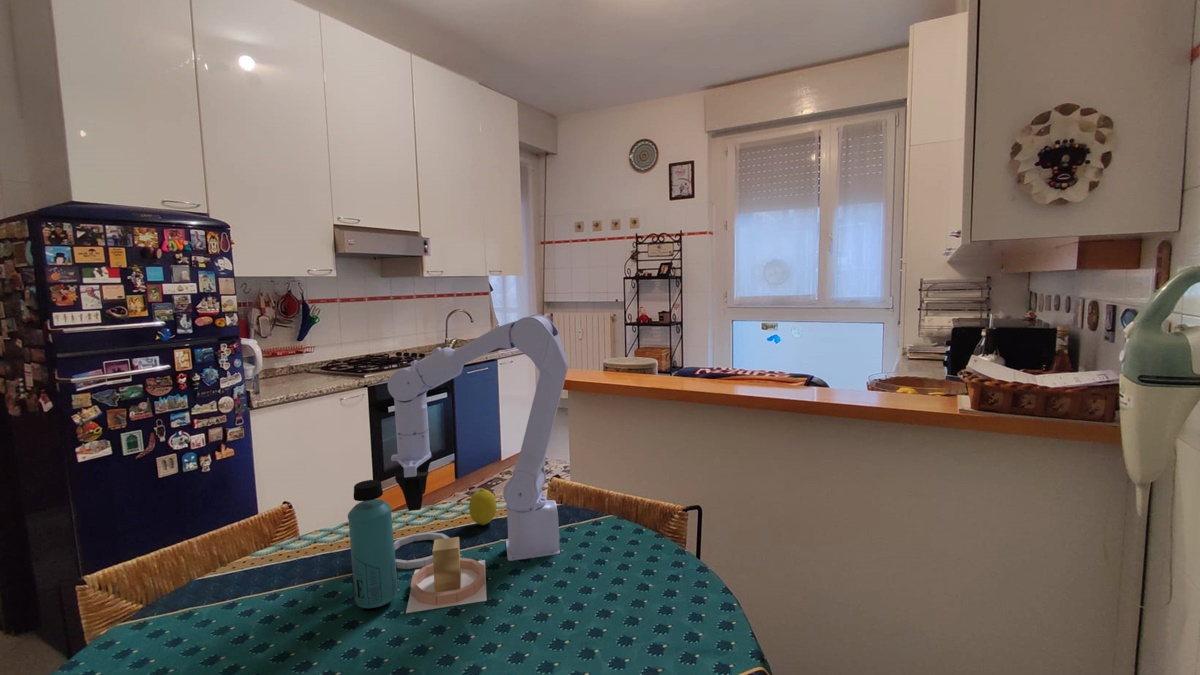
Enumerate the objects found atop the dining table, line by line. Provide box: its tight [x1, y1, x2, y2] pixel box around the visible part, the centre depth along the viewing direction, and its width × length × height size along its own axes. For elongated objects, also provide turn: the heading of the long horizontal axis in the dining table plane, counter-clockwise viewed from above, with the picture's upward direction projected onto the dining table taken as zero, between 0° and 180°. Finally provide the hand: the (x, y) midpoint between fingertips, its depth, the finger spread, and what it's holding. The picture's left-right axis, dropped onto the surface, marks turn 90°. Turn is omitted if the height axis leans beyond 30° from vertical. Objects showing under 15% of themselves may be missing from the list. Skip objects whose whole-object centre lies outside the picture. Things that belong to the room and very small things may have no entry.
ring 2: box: [410, 557, 485, 605], centre depth 89 cm, size 12×12×2 cm
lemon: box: [468, 487, 497, 526], centre depth 112 cm, size 6×6×8 cm
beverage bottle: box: [347, 479, 399, 609], centre depth 83 cm, size 6×7×20 cm
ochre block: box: [432, 536, 461, 593], centre depth 89 cm, size 4×4×7 cm
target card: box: [405, 559, 488, 614], centre depth 89 cm, size 12×13×1 cm
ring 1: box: [394, 531, 450, 570], centre depth 100 cm, size 12×12×2 cm
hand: (417, 501), depth 102 cm, fingers open, 7 cm apart
